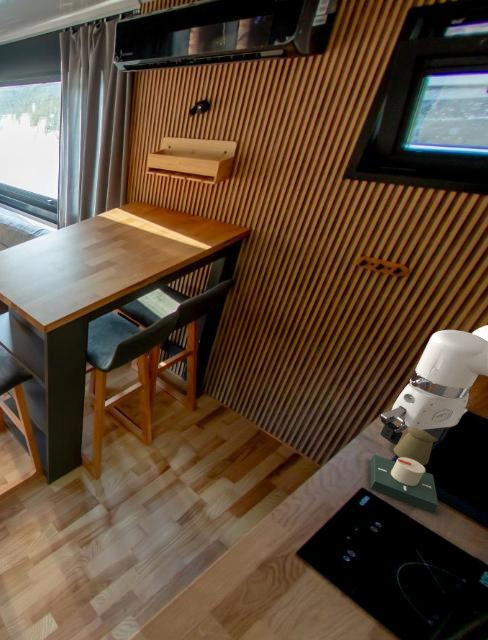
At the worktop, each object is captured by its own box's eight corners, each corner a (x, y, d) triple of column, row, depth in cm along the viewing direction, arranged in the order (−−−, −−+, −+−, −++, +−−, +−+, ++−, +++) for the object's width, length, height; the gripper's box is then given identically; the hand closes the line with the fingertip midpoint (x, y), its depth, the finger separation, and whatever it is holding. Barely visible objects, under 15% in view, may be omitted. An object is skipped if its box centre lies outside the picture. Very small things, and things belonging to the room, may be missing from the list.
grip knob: (416, 476, 91) (424, 462, 89) (418, 489, 89) (426, 475, 86) (390, 466, 94) (397, 453, 92) (391, 479, 92) (398, 465, 89)
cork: (405, 464, 97) (421, 435, 92) (387, 445, 102) (401, 417, 97) (435, 466, 95) (452, 437, 91) (415, 447, 100) (430, 419, 96)
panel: (428, 482, 92) (433, 474, 91) (433, 512, 86) (438, 504, 85) (370, 461, 99) (373, 453, 98) (371, 488, 93) (375, 480, 92)
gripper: (417, 400, 75) (388, 454, 83) (507, 389, 74) (470, 446, 81) (378, 376, 82) (355, 429, 89) (460, 366, 81) (430, 420, 88)
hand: (410, 437), depth 85 cm, fingers open, 9 cm apart
